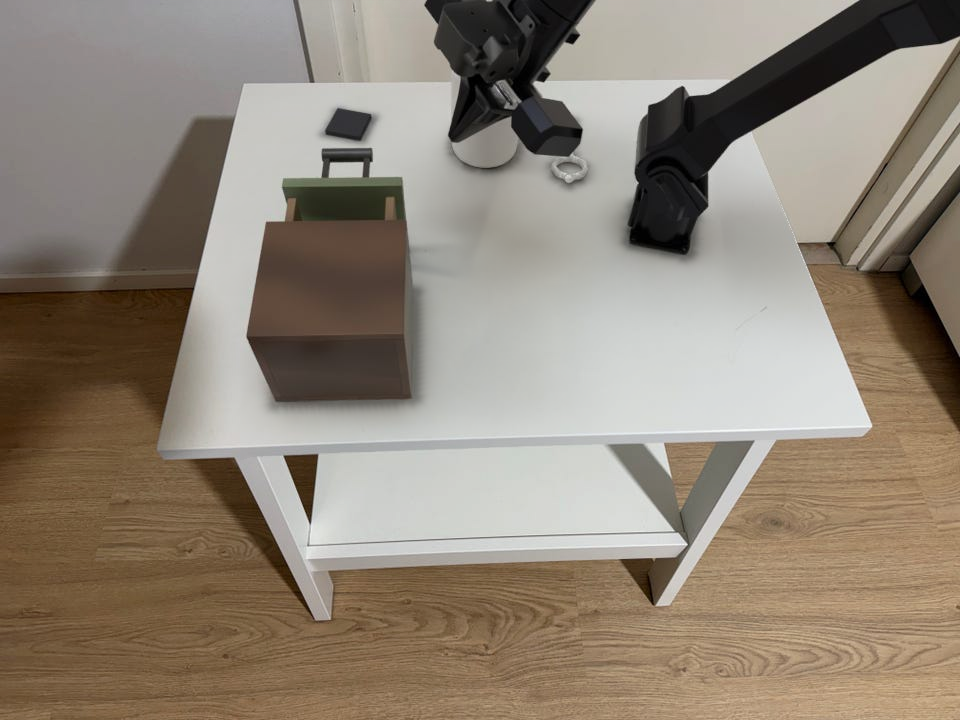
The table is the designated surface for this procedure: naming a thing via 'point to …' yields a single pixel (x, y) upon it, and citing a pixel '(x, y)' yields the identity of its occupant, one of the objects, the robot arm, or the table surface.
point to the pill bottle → (484, 139)
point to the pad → (348, 124)
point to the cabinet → (334, 310)
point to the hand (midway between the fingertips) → (452, 139)
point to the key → (568, 176)
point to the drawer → (344, 192)
